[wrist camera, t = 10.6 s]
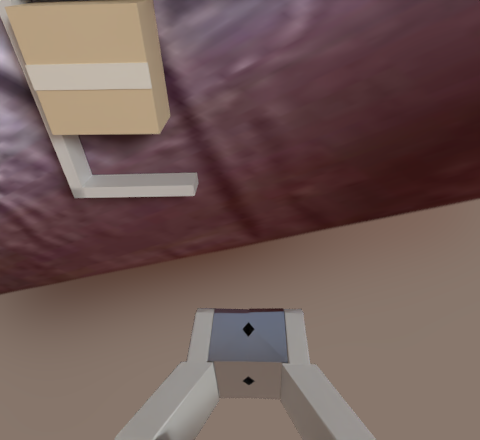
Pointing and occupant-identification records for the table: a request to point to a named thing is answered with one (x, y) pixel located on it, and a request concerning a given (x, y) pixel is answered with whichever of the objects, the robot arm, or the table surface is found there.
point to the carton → (94, 65)
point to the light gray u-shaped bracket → (77, 163)
